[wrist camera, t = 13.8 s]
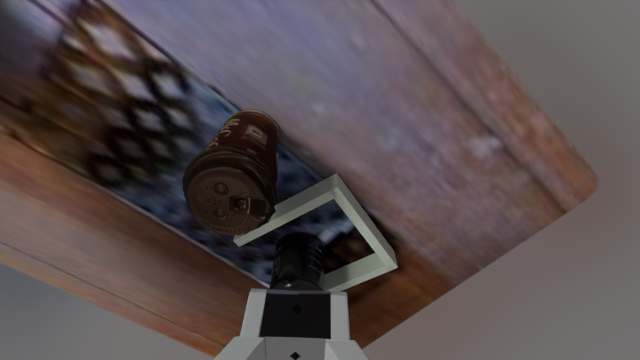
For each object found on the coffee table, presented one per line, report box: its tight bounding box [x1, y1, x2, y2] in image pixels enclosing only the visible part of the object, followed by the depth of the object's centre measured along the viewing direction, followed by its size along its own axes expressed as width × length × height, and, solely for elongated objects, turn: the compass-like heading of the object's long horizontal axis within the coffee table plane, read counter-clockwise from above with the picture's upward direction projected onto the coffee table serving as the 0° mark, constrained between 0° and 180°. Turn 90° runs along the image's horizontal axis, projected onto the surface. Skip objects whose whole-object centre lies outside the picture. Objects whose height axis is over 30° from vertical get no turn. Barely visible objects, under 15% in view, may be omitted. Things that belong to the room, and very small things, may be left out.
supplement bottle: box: [270, 232, 324, 291], centre depth 45 cm, size 7×7×12 cm
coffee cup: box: [183, 109, 280, 236], centre depth 35 cm, size 9×8×13 cm
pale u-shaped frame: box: [233, 173, 398, 292], centre depth 48 cm, size 16×16×3 cm
